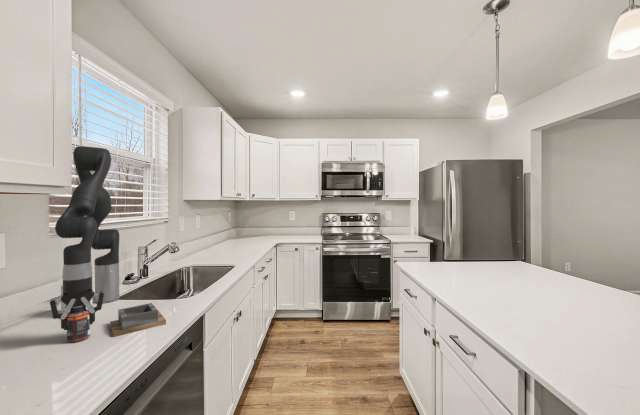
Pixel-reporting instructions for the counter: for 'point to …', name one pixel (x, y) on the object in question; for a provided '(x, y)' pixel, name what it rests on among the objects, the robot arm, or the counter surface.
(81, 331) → the supplement bottle
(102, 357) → the counter surface
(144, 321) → the socket stand
